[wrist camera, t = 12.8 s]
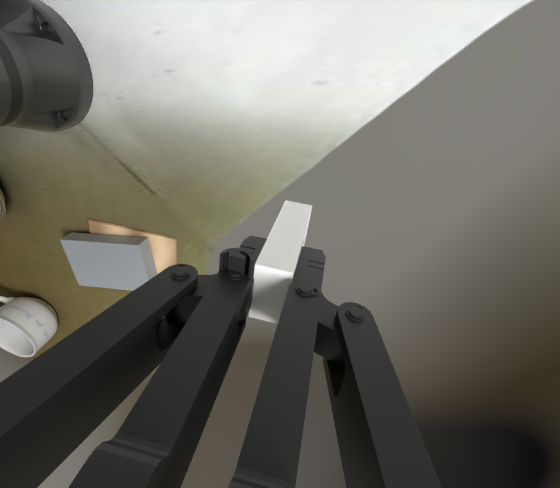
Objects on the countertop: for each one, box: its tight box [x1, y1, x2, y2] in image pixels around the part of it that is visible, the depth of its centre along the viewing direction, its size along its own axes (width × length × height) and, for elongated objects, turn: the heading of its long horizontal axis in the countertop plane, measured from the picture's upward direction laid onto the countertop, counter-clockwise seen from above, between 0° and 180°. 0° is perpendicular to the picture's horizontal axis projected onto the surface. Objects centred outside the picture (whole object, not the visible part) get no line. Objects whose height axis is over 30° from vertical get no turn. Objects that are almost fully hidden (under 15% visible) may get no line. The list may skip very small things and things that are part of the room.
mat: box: [88, 219, 178, 274], centre depth 54 cm, size 15×10×1 cm, turn 82°
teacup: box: [0, 296, 58, 357], centre depth 63 cm, size 14×11×8 cm
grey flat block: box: [60, 232, 157, 291], centre depth 54 cm, size 3×9×14 cm
